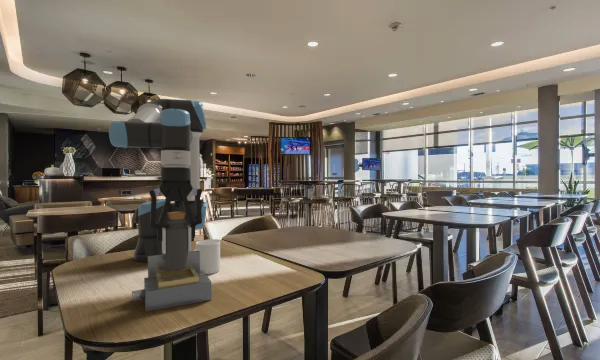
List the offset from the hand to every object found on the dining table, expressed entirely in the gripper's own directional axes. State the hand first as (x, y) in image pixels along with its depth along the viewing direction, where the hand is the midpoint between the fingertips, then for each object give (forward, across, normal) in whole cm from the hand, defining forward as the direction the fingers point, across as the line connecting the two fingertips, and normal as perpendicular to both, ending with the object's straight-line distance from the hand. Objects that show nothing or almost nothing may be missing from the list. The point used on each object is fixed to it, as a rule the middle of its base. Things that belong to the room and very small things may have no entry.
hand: (176, 251), depth 88 cm
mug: (+13, +11, +20) cm, 26 cm away
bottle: (+5, 0, 0) cm, 5 cm away
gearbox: (+13, -1, 0) cm, 13 cm away
